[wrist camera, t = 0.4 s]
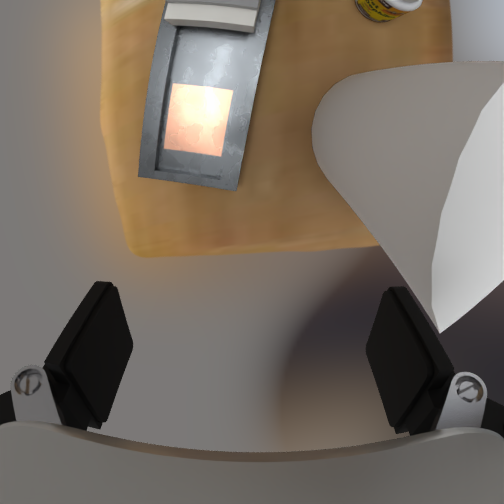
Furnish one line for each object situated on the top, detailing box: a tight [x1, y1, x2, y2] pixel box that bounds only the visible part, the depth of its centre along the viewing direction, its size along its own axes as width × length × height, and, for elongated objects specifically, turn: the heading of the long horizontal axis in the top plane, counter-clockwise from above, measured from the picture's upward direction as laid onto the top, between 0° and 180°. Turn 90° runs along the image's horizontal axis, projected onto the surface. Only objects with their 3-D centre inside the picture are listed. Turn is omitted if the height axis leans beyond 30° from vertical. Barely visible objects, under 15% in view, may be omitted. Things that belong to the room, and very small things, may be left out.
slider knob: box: [164, 0, 261, 33], centre depth 23 cm, size 5×9×6 cm, turn 79°
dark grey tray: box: [138, 0, 275, 191], centre depth 30 cm, size 26×12×3 cm, turn 169°
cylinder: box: [311, 61, 504, 333], centre depth 22 cm, size 17×17×28 cm
